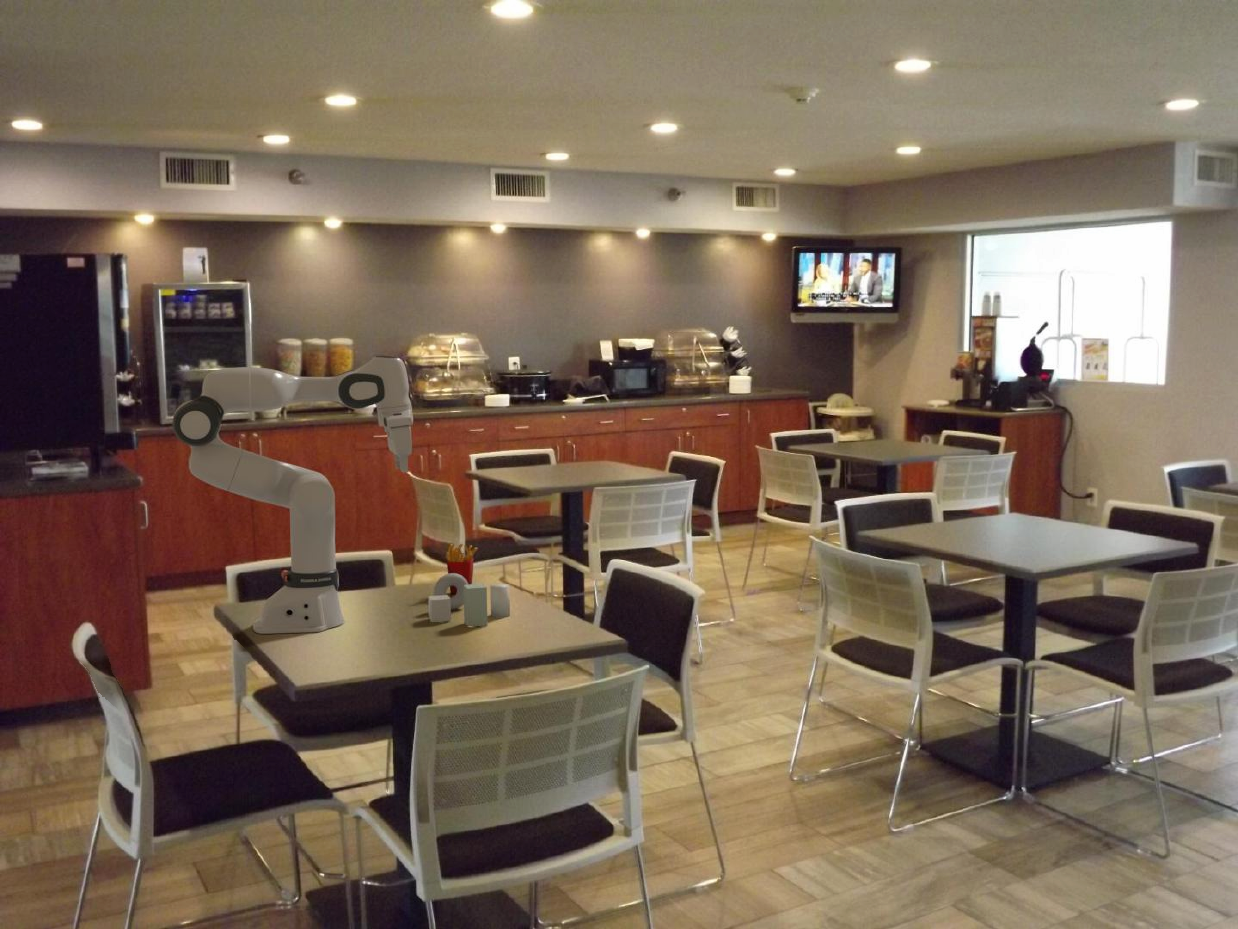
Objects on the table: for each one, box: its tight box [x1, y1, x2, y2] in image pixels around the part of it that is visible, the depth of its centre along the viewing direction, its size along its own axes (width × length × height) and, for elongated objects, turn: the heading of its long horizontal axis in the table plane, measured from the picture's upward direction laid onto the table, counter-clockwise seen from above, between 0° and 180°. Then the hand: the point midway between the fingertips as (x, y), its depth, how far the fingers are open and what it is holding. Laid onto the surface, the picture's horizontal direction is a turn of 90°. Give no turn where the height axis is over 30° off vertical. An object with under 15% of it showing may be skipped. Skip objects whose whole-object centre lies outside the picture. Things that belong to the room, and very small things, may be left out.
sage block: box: [463, 583, 488, 627], centre depth 298 cm, size 5×5×10 cm
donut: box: [433, 573, 469, 611], centre depth 316 cm, size 10×4×10 cm, turn 119°
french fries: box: [445, 542, 478, 596], centre depth 334 cm, size 9×8×15 cm
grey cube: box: [427, 594, 452, 623], centre depth 304 cm, size 5×5×6 cm
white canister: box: [489, 583, 511, 618], centre depth 309 cm, size 5×5×8 cm
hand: (402, 470), depth 304 cm, fingers open, 8 cm apart
